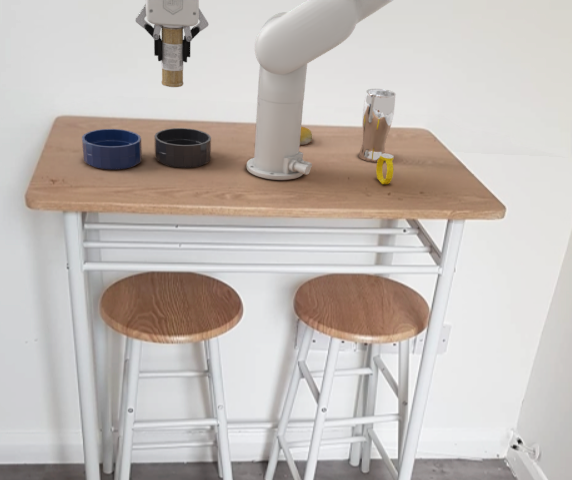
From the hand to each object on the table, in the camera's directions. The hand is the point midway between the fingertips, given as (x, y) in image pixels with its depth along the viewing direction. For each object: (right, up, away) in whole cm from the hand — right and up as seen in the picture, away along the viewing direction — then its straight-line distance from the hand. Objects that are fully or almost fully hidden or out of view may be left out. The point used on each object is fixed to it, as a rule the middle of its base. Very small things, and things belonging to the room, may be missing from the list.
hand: (172, 59), depth 144 cm
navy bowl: (-14, -19, +8) cm, 25 cm away
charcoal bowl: (0, -18, +12) cm, 21 cm away
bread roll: (+25, -9, +29) cm, 39 cm away
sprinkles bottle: (0, -5, +3) cm, 5 cm away
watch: (+44, -23, +9) cm, 51 cm away
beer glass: (+43, -15, +22) cm, 51 cm away
